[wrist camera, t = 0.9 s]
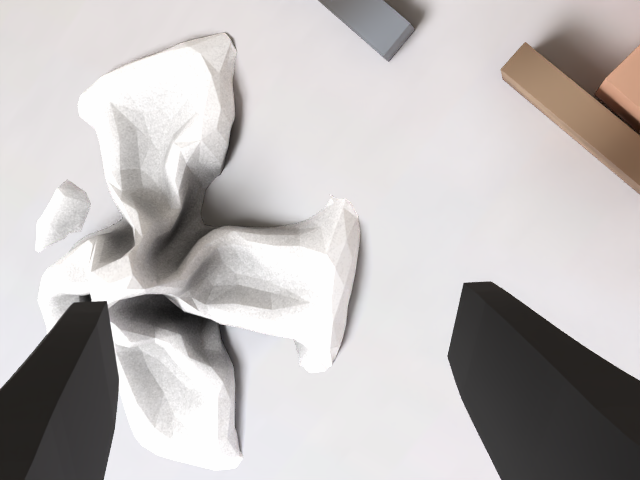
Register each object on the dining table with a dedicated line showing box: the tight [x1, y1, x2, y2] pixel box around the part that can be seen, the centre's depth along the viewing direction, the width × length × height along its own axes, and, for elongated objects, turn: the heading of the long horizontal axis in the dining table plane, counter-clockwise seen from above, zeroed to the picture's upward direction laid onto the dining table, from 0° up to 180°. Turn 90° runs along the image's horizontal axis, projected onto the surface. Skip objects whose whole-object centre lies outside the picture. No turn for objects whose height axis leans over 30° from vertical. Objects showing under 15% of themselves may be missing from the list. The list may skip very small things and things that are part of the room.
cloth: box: [35, 33, 360, 470], centre depth 27 cm, size 22×19×6 cm
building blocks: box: [318, 0, 640, 194], centre depth 21 cm, size 22×13×2 cm, turn 49°
